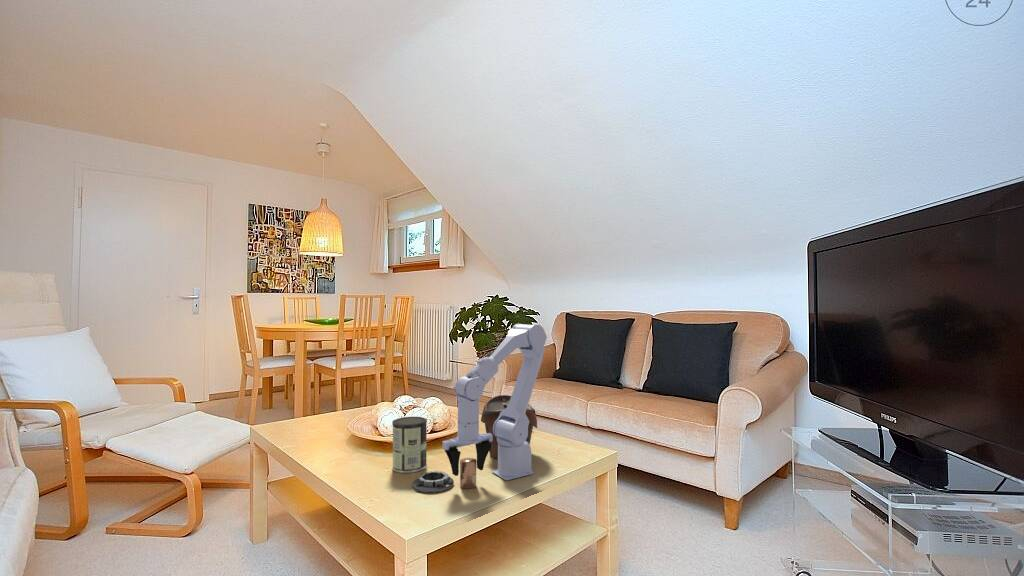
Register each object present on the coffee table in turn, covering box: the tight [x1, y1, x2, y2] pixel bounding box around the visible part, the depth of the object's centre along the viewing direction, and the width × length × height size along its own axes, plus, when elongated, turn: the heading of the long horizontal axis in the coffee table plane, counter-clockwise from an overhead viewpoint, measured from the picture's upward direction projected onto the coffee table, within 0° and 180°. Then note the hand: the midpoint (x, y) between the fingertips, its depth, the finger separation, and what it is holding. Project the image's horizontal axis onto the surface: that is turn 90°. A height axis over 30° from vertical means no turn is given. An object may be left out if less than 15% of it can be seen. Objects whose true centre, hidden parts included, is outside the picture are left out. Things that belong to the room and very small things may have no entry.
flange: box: [412, 470, 455, 494], centre depth 129 cm, size 11×11×2 cm
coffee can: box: [391, 416, 428, 474], centre depth 144 cm, size 10×10×14 cm
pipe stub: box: [459, 457, 477, 491], centre depth 129 cm, size 4×4×7 cm
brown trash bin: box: [480, 394, 538, 459], centre depth 156 cm, size 18×20×18 cm
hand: (467, 471), depth 129 cm, fingers open, 7 cm apart
